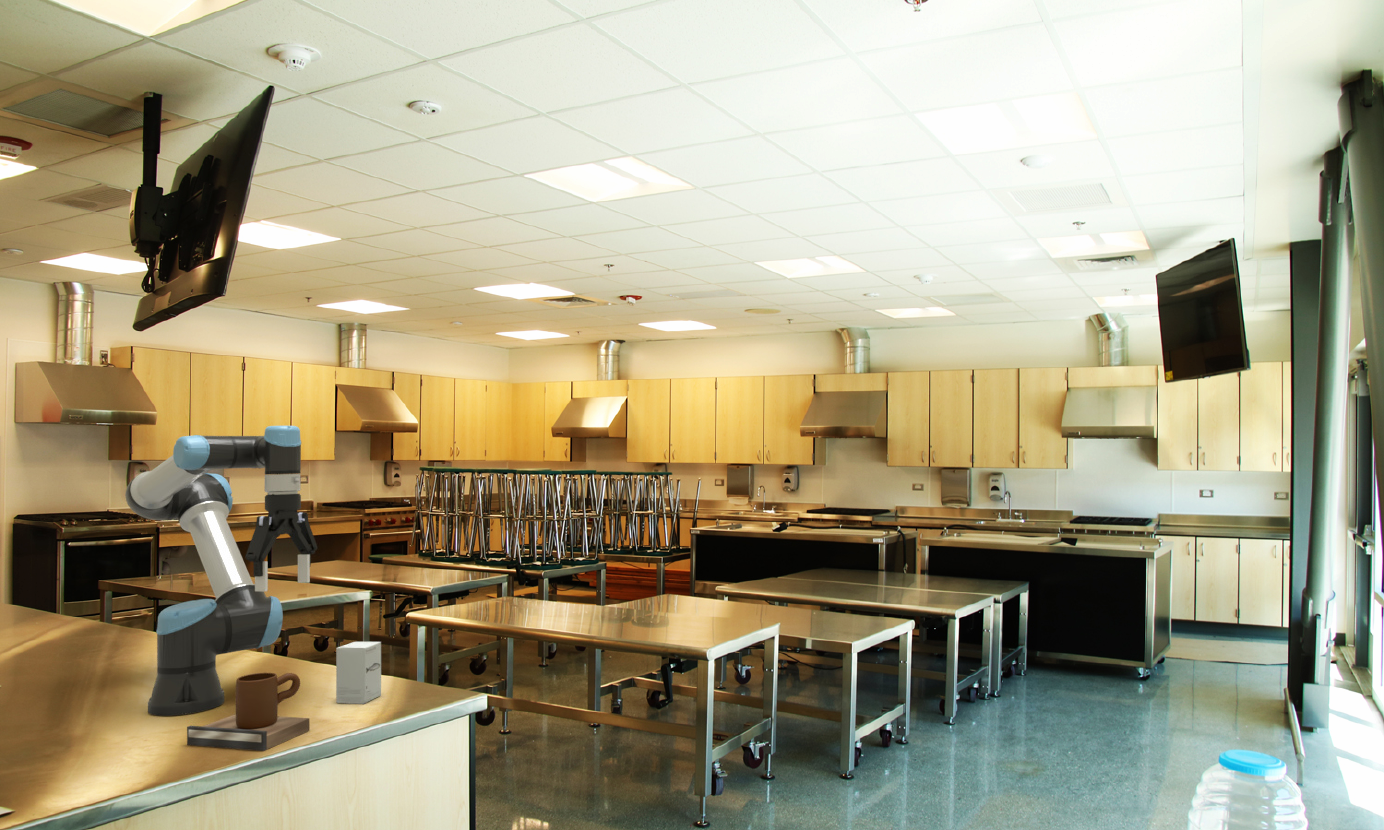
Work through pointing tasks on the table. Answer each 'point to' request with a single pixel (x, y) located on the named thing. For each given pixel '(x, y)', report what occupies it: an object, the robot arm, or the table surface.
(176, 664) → the robot arm
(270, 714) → the mug
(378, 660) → the supplement box
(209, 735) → the wooden slab
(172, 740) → the table surface
